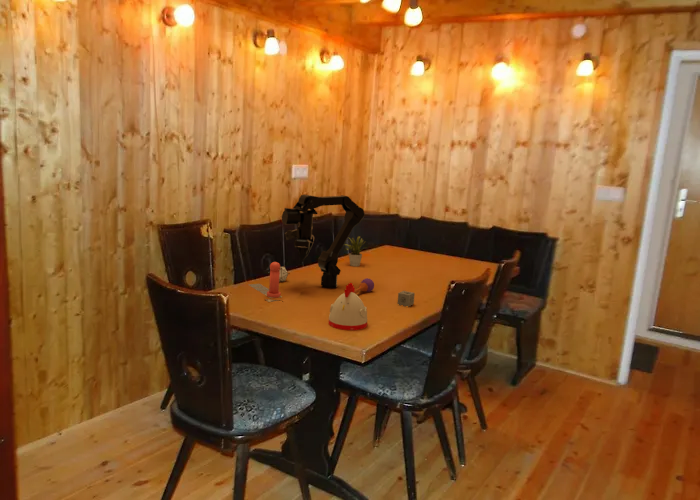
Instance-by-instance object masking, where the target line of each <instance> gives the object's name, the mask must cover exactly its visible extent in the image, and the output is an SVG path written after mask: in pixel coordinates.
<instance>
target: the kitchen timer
mask: <svg viewBox="0 0 700 500" xmlns="http://www.w3.org/2000/svg"><path fill="white" fill-rule="evenodd" d="M355 289H356V287H354V285H353V282H349V283H348V284H347V285H345V289H343V290H344V292H343V293H342V294H340V295H339V296H337V298H336V300H334V302H333V303H331V304H330V308H329V316H328V325H329V326H330V327H332V328H335V329H338V330H344V331H357V330H364V329H366V328H367V326H368V310H367V309H368V308H367V306H365V304H364V301H363V300H362V299H361V298H360V297H359V296H358V294H357V293H356V294H355V293H354V290H355Z"/></svg>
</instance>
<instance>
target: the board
mask: <svg viewBox="0 0 700 500" xmlns="http://www.w3.org/2000/svg"><path fill="white" fill-rule="evenodd" d="M248 286H249V287H251V288H253V289H254V290H256V291H257V292H259V293H261V294H263V295H265V296H266V297H268V296H267V292H268V291H269V288H268V287H266V286H264V285H263V284H262V283H251V284H248ZM268 298H270V299H266V298H264V300H265V301H266V302H268V303H269V302H271V303H273V302H279V301H283V300H280V299H272V298H271V297H268ZM279 298H283V296H282V295H281V296H280V297H279Z"/></svg>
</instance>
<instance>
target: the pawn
mask: <svg viewBox="0 0 700 500" xmlns="http://www.w3.org/2000/svg"><path fill="white" fill-rule="evenodd" d="M280 267H281V264H280V263H279V262H277V261H273V262H271V263H270V264H269V269H270V270H269V286H268V287H269V288H268V289H269V291H268V290H267V291H268V292H267V294H266V295H267V296H268V298H269V297H271V298H270V299H277V298H281V297H280V296H282V295H281V294H282V292H281V291H280V290H279V289H280V282H279V274H280ZM267 296H266V297H267Z"/></svg>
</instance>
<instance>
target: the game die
mask: <svg viewBox="0 0 700 500" xmlns="http://www.w3.org/2000/svg"><path fill="white" fill-rule="evenodd" d="M290 274H291V273H290V272H288V271H287V269H286V265H284V266H280V274H279V283H281V282H283V283H285V282H286V281H287V278H288V275H290Z"/></svg>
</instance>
